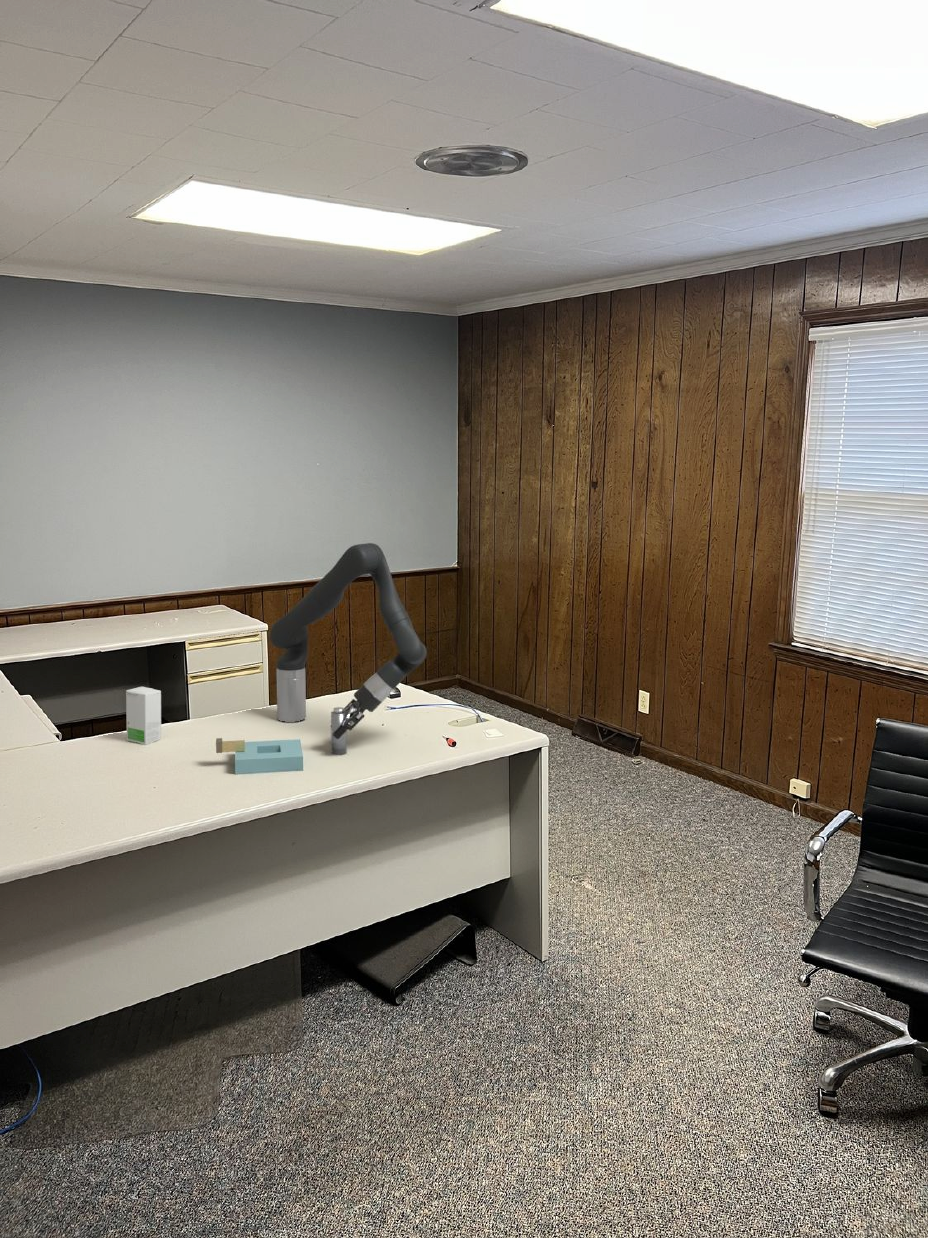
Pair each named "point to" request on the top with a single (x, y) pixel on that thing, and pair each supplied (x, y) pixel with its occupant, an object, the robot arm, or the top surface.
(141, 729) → the skincare box
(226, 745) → the block hammer
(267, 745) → the dock
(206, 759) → the top surface
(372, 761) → the top surface
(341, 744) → the metal capped cylinder
